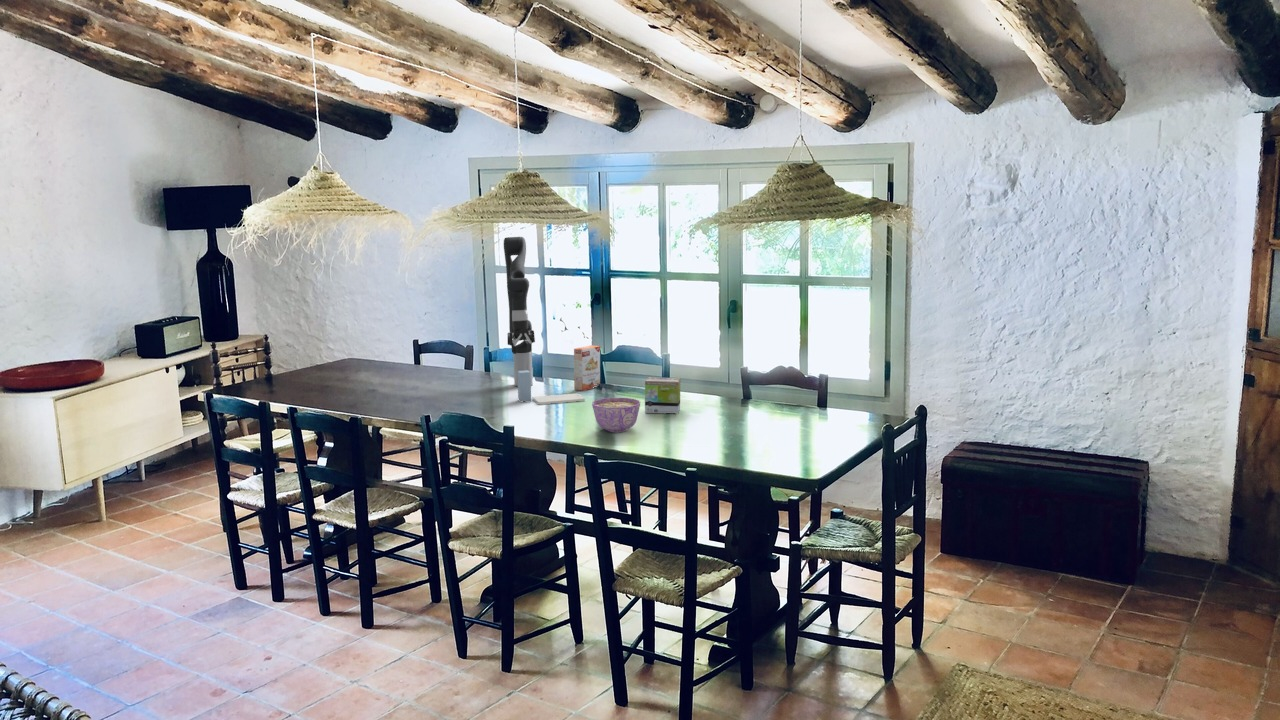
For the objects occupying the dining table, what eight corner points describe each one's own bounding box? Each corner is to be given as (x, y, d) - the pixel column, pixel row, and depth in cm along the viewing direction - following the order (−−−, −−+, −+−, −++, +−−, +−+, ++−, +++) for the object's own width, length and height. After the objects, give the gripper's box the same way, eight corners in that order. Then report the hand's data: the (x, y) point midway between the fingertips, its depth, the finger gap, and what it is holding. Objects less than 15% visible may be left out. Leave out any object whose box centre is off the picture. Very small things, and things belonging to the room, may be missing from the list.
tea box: (644, 413, 436) (644, 380, 434) (647, 408, 446) (647, 376, 443) (678, 414, 434) (678, 381, 431) (680, 409, 444) (680, 377, 441)
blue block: (518, 400, 467) (517, 371, 465) (528, 399, 469) (527, 370, 466) (520, 402, 462) (519, 372, 460) (531, 401, 464) (530, 372, 462)
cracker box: (583, 391, 486) (582, 349, 482) (573, 390, 489) (572, 348, 486) (601, 386, 497) (600, 345, 493) (592, 385, 500) (591, 344, 497)
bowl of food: (636, 436, 395) (636, 408, 393) (587, 435, 399) (587, 407, 397) (644, 425, 415) (644, 398, 413) (597, 423, 418) (597, 396, 416)
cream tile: (532, 399, 468) (532, 396, 468) (577, 395, 475) (576, 393, 475) (538, 404, 456) (538, 402, 456) (584, 401, 463) (584, 398, 463)
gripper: (527, 317, 484) (529, 350, 486) (503, 320, 475) (505, 353, 477) (536, 318, 478) (538, 351, 480) (511, 320, 469) (513, 354, 471)
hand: (521, 352), depth 478 cm, fingers open, 8 cm apart
